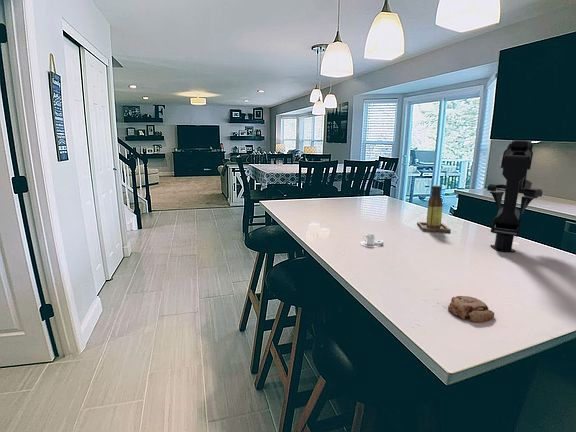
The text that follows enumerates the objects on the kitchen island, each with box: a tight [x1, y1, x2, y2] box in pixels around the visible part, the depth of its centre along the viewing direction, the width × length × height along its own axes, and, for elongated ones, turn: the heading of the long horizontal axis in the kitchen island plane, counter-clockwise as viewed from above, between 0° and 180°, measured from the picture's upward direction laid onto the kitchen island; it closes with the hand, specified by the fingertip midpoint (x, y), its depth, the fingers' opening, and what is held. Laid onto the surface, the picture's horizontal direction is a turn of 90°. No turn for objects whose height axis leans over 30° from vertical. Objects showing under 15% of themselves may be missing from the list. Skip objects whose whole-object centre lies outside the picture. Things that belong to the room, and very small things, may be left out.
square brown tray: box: [416, 221, 451, 234], centre depth 160 cm, size 12×12×2 cm
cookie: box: [447, 295, 495, 323], centre depth 82 cm, size 10×11×3 cm
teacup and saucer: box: [359, 233, 385, 248], centre depth 134 cm, size 9×8×4 cm
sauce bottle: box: [426, 184, 443, 228], centre depth 157 cm, size 6×6×20 cm
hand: (509, 210), depth 139 cm, fingers open, 9 cm apart
